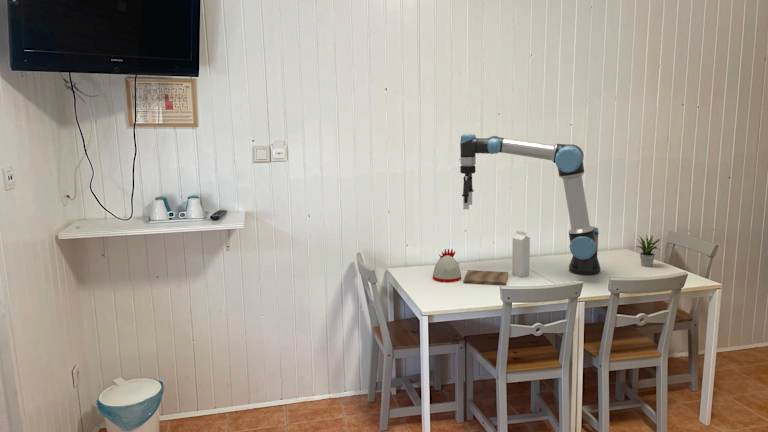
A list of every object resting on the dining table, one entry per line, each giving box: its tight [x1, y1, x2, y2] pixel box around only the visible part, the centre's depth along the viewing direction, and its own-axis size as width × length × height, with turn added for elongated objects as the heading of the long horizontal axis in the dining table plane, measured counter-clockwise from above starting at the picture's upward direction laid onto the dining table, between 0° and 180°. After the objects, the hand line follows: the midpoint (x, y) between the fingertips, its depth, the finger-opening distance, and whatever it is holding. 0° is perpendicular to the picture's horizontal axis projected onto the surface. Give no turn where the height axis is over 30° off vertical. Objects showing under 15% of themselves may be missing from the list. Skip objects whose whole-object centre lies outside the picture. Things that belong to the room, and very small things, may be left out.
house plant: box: [635, 234, 663, 268], centre depth 318 cm, size 14×14×16 cm
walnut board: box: [462, 269, 509, 286], centre depth 304 cm, size 20×18×2 cm
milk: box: [511, 230, 531, 278], centre depth 308 cm, size 6×6×22 cm
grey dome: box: [432, 248, 462, 283], centre depth 306 cm, size 14×14×15 cm
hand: (467, 206), depth 316 cm, fingers open, 13 cm apart
